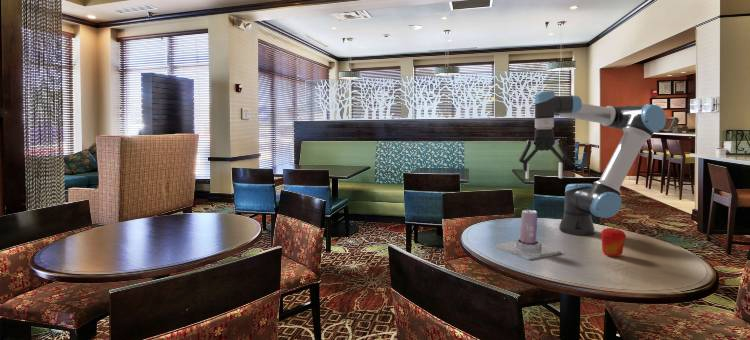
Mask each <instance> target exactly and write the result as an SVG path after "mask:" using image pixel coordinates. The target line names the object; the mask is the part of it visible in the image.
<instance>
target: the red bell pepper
mask: <svg viewBox="0 0 750 340" xmlns="http://www.w3.org/2000/svg"><path fill="white" fill-rule="evenodd" d="M600 236H601V237H600V240H601V251H602V253H603V254H604V255H605V256H606V257H610V258H617V257H619V256H621V255H622V254H623V252H624V246H625V243H626V238H627V235H626V233H625V232H624V231H623V230H621V229H618V228H615V226H612V227H609V228H608V227H607V228H603V229H602V231H601V232H600Z"/></svg>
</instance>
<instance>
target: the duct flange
mask: <svg viewBox="0 0 750 340" xmlns="http://www.w3.org/2000/svg"><path fill="white" fill-rule="evenodd" d="M520 240H521V237H520V238H516V239H515V240H514V241H507V242H500V243H496V244H495V245H494V246H495V248H496V249H499V250H502V251H504V252H507V253H510V254H512V255H515V256H517V257H520V258H522V259H526V260H528V261H530V260H536V259H540V258H545V257H550V256H555V255H561V254H563V250H561V249H558V248H555V247H552V246H549V245H546V244H543V243H542V242H541V240H537V239H536V244H523V243H520Z"/></svg>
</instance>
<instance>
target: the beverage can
mask: <svg viewBox="0 0 750 340" xmlns="http://www.w3.org/2000/svg"><path fill="white" fill-rule="evenodd" d="M520 219H521V221H520V223H521V224H520V238H521V240H520V243H523V244H536V240H537V227H538V211H536V210H532V209H523V210H522V212H521V218H520Z"/></svg>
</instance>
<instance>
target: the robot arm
mask: <svg viewBox="0 0 750 340" xmlns="http://www.w3.org/2000/svg"><path fill="white" fill-rule="evenodd" d="M582 101H583V100H582V99H581V97H580V96H578V95H572V94H570V95H555V91H553V90H548V91H547V90H545V91H538V92H536V93H535V95H534V128H535V129H534V140H529V139H528V140H526V145H525V148H524V149H523V151H522V153H521V155H520V157H519V158H518V162H519V163H522V170H523V172H525V179H526V180H529V179H530V164H529V163H528V162H529V161H531V159H532V158H533V157H534V156H535V155H536V153H537V152H539V151H540V152H541V151H542V152H543V151H546V152H547V151H551V153H552V154H553V155H554V156H555V158H557V159H558V160H559V162H558V172H557V173H558V175H557V177H558V178H559V179H563V171H565V170H566V162H570V161H571V159H570V158H569V155H568V152H567V151H566V149H565V147H564V145H563V140H562V139H559V138H558V139H555V137H554V135H555V129H554V128H555V116H557V117H563V118H568V119H573V120H580V121H585V122H592V123H596V124H597V123H598V124H601V125H602V126H604V127H608V128H613V129H616V130H621V131H623V135H622V137H621V139H620V140H619V142H618V144H617V146H616V148H615V149H614V151H613V153H612V155H611V158H610V159H609V162H608V163H607V165H606V167H605V169H604V171H603V173H602V174H601V176H600V178H599V180H596V181H593V183H569V184H567V185H566V186H565V190H564V207H563V210H564V212H563V216H562V218H561V220H560V223H559V231H560V232H562V233H566V234H571V235H577V236H590V235H594V234H595V227H594V223H593V219H592V216H595V217H596V218H603V219H608V218H612V217H613V216H615V215H616V214H618V213H619V211H620V210H621V209H622V208H621V207H622V205H623V204H622V203H623V202H622V198H621V195H622V192H621V189H620V188H621V186H622V185H623V182H624V181H625V180H626V178H627V175H628V173H629V171H630V170H631V168H632V166H633V163H634V162H635V160H636V158H637V156H638V154H639V153H640V151H641V148H642V147H643V145H644V143H645V142H646V141H647V140H651V138H652V137H653V135H654V133H657V132H659V131H662V130H663V128H664V127H665V126H666V123H667V115H666V113H665V110H664V109H663V107H661V106H659V105H658V104H642V105H641V104H639V105H638V104H637V105H621V106H613V105H607V106H599V105H594V104H588V103H583V102H582ZM533 145H534V146H535V147H534V148H533V149H532V151H530V148H531V146H533ZM554 145H556V146H557V147H558V149H559V150H560V151H559V152H560V153H561V154H560V153H559V152H558V150H556V148H555V147H554ZM529 151H530V153H529V154H528V152H529Z"/></svg>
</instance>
